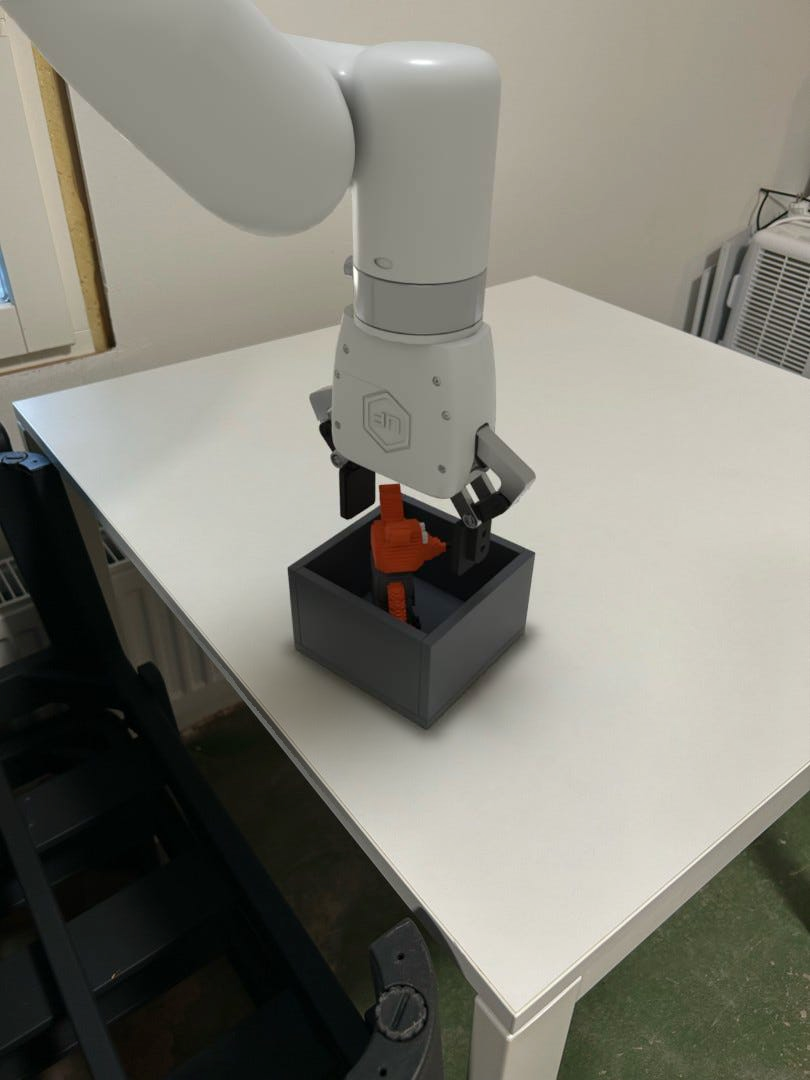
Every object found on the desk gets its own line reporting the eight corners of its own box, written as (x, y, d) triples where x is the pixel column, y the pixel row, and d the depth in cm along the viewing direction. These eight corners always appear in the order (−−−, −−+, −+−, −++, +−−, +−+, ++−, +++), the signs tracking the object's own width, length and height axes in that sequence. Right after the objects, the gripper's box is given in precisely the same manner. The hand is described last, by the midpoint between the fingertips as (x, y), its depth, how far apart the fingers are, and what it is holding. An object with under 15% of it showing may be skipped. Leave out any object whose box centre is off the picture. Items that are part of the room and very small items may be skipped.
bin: (294, 648, 62) (286, 567, 58) (398, 568, 70) (399, 491, 66) (427, 730, 56) (430, 646, 51) (525, 632, 64) (535, 552, 59)
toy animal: (455, 669, 60) (465, 534, 52) (380, 676, 59) (380, 541, 52) (436, 597, 66) (442, 469, 59) (368, 603, 65) (366, 474, 58)
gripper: (264, 277, 49) (283, 514, 59) (511, 356, 40) (483, 617, 51) (348, 248, 54) (352, 472, 64) (585, 314, 45) (546, 560, 55)
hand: (410, 536), depth 57 cm, fingers open, 9 cm apart
